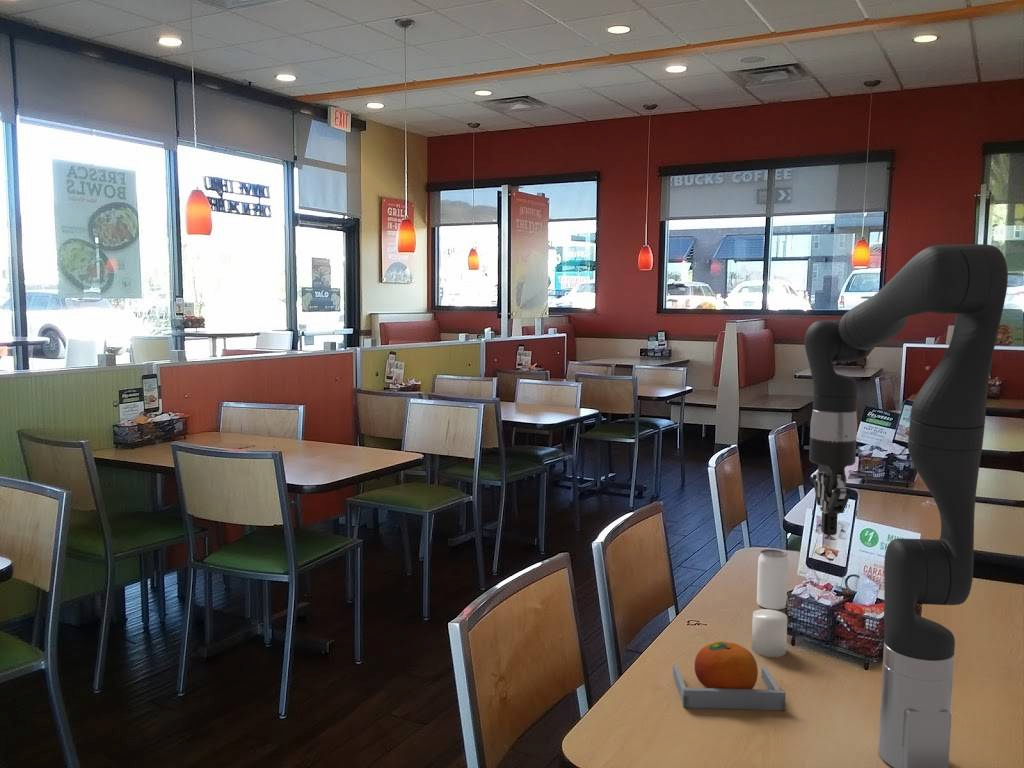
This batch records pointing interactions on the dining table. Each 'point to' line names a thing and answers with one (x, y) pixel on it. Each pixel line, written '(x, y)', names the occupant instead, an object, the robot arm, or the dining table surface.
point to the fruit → (726, 666)
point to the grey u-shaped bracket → (732, 695)
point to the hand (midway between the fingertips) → (828, 533)
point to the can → (772, 579)
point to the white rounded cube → (769, 633)
